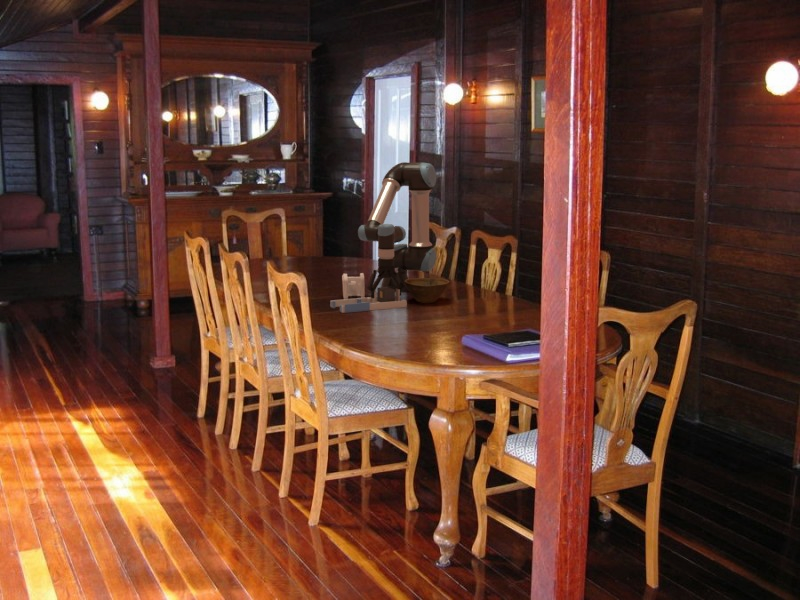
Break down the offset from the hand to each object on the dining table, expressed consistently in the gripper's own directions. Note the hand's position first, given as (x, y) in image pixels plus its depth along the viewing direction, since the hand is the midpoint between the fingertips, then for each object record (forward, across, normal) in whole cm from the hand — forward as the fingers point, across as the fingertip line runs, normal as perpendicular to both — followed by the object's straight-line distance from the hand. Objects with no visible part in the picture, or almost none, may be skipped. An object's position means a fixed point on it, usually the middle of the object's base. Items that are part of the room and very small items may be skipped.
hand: (386, 303), depth 432 cm
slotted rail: (+1, +9, 0) cm, 9 cm away
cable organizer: (+1, +7, -23) cm, 24 cm away
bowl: (+1, -22, -1) cm, 22 cm away
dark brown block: (+1, 0, 0) cm, 1 cm away
